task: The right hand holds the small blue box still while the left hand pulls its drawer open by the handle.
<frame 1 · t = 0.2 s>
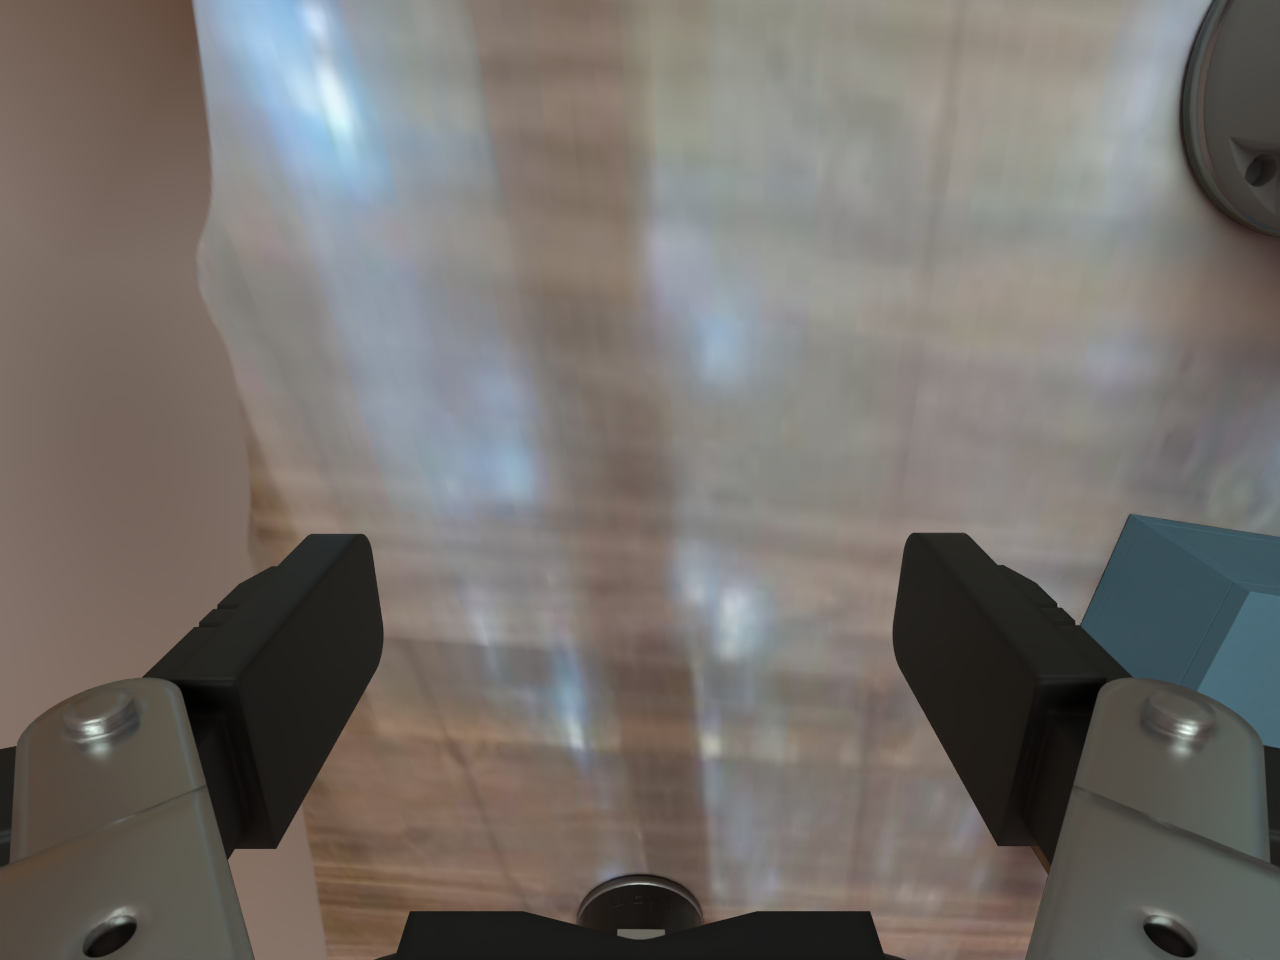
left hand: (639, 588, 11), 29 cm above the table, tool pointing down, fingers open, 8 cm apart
drawer: (1159, 790, 44), point 4 cm above the table, slide at 0.7 cm
blue box: (1147, 672, 46), on the table
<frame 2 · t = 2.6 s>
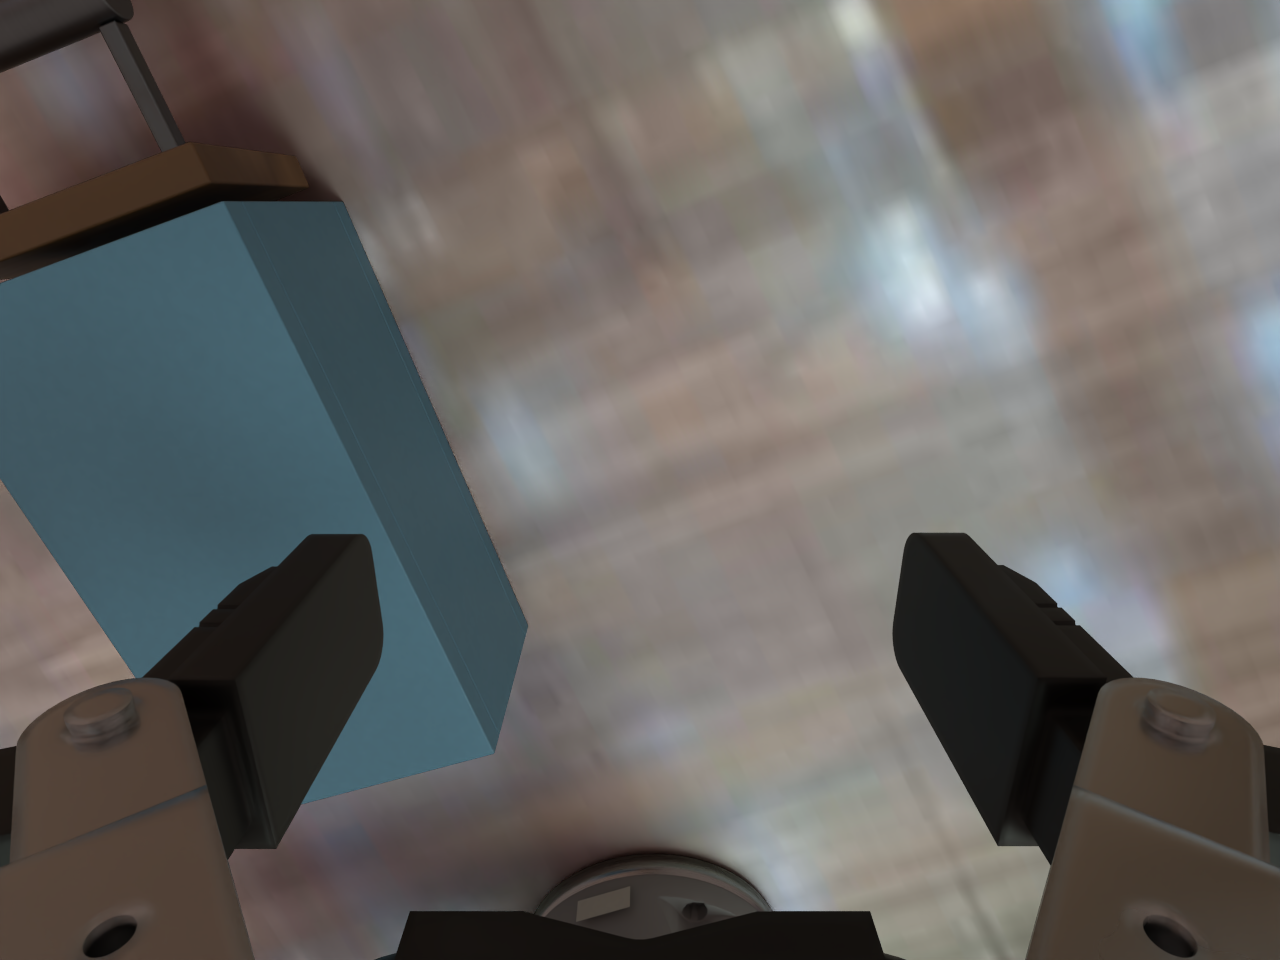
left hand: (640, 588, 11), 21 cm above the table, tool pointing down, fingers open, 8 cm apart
drawer: (220, 385, 27), point 4 cm above the table, slide at 0.7 cm
blue box: (332, 472, 33), on the table
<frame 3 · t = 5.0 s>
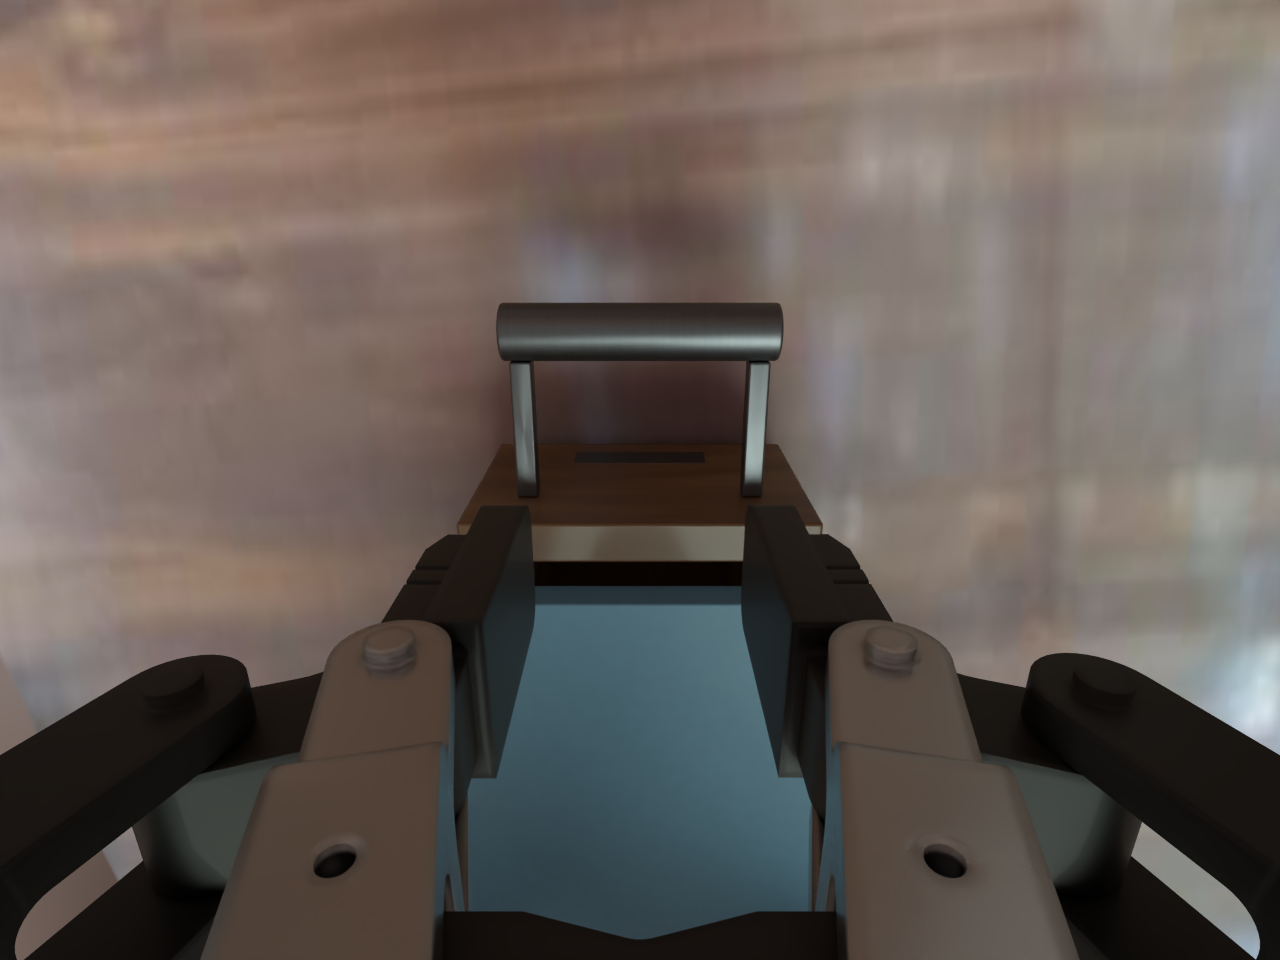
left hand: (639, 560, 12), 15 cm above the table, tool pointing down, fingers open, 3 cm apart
drawer: (639, 661, 25), point 4 cm above the table, slide at 0.7 cm
blue box: (639, 704, 32), on the table, touching right hand
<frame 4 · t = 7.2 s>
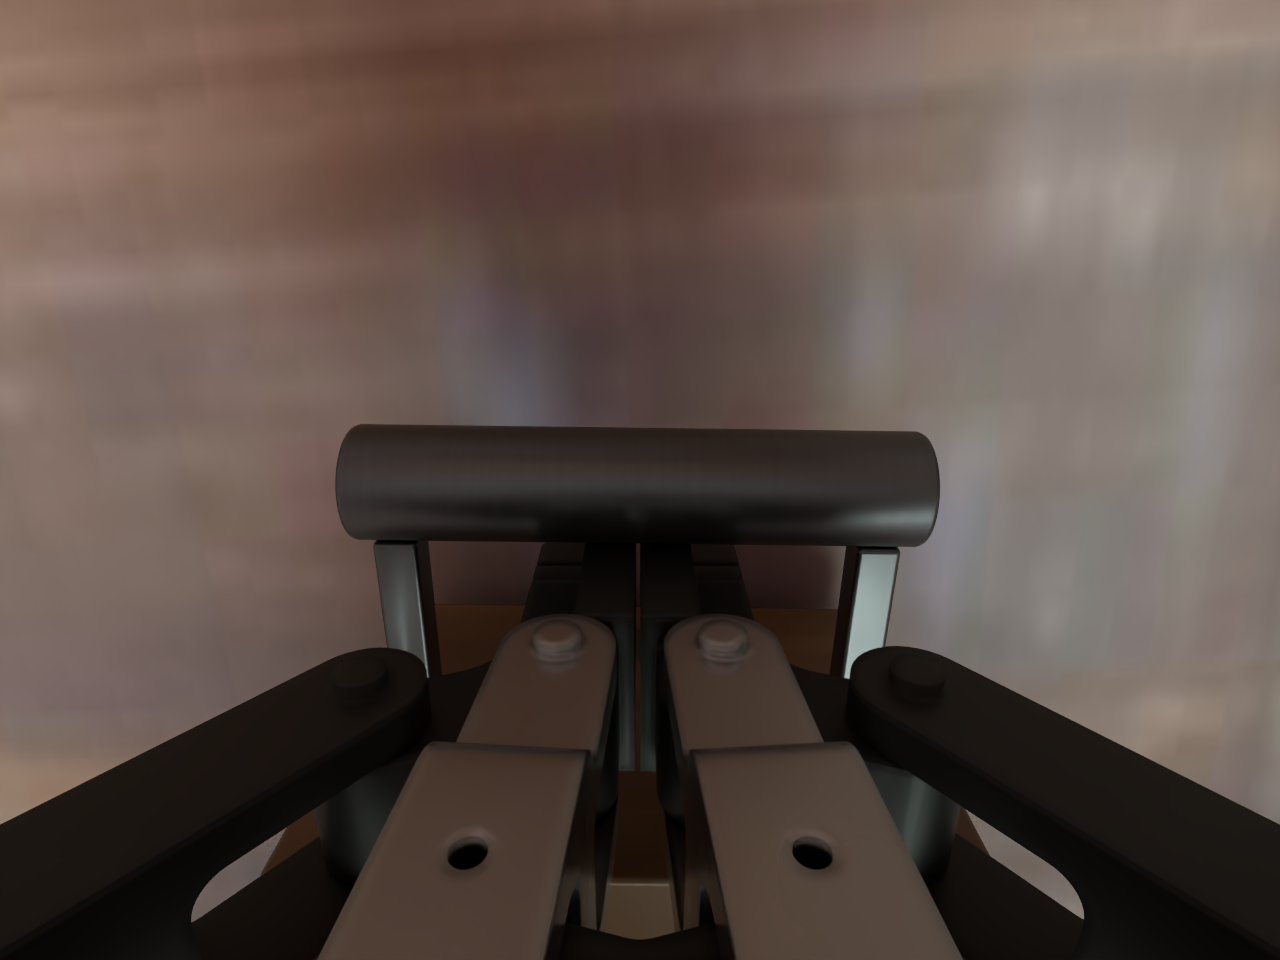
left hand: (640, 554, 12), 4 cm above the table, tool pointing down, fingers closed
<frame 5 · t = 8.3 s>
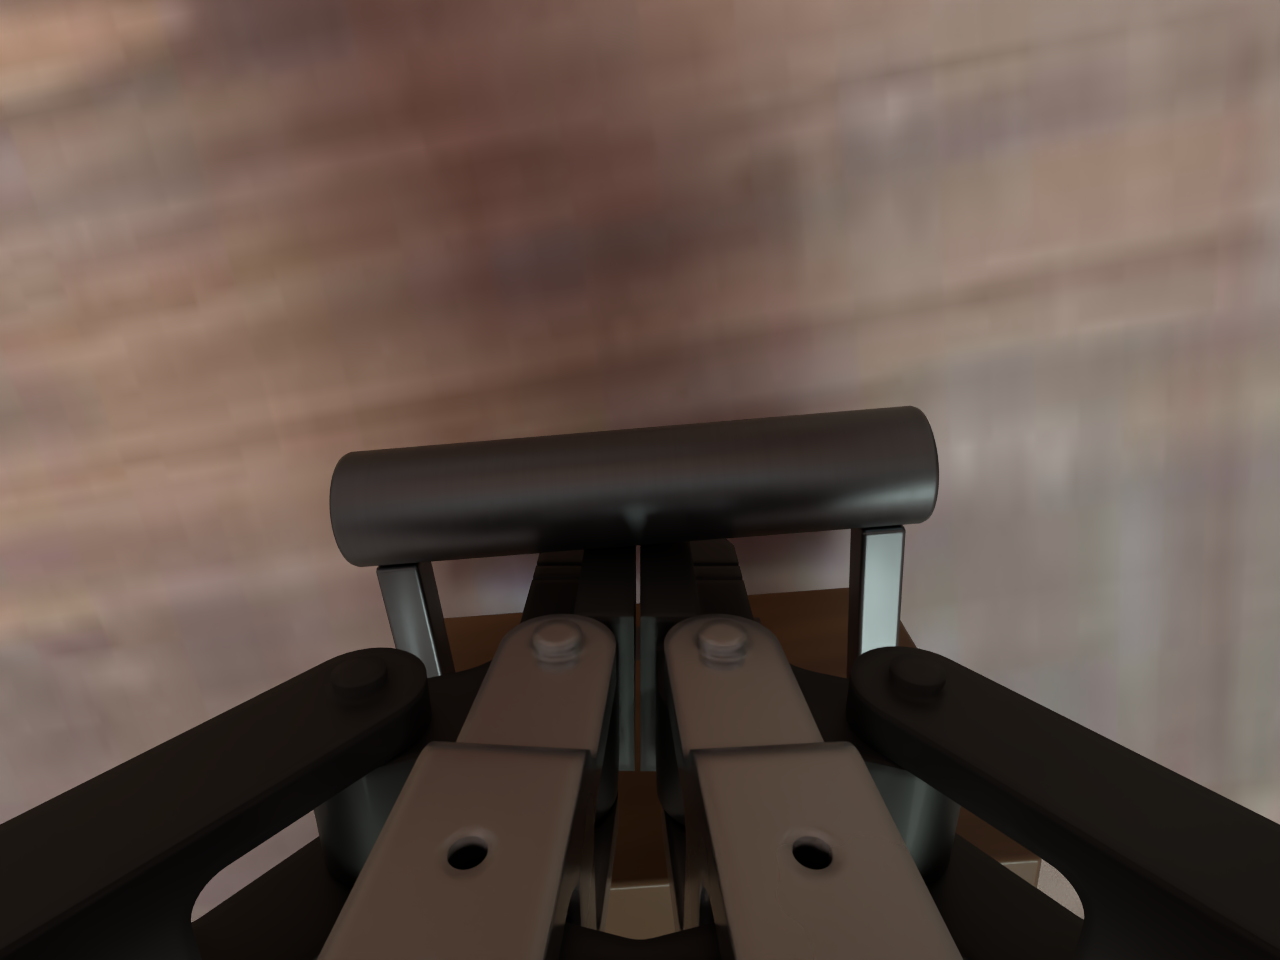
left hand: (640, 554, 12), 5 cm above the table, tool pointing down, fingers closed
when the right hand's fingers open (4 cm above the table, at t = 9.8 s): blue box stays where it is, on the table.
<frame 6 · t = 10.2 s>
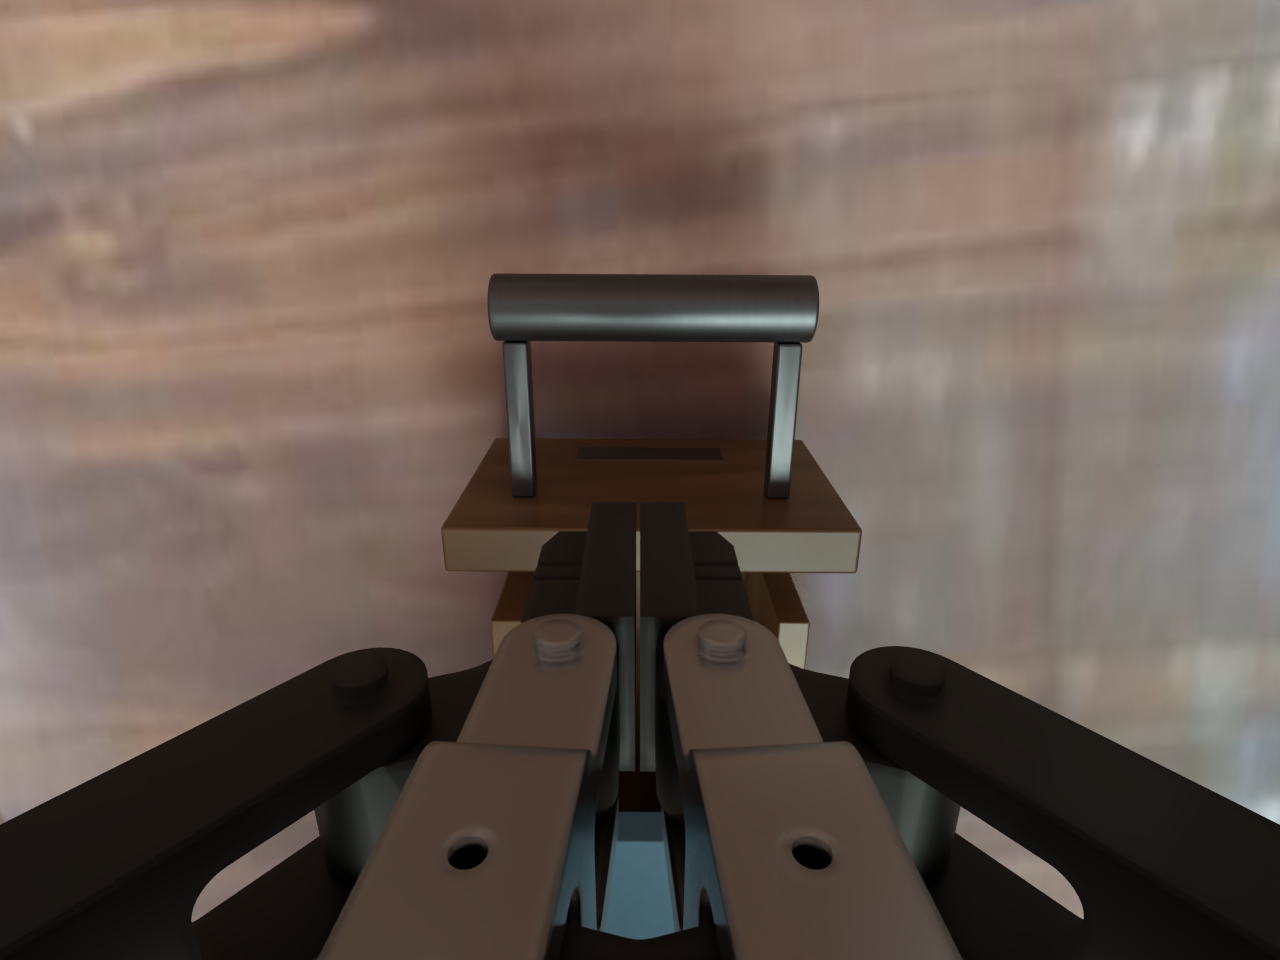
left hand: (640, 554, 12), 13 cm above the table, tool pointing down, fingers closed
drawer: (647, 681, 23), point 4 cm above the table, slide at 7.5 cm
blue box: (643, 850, 31), on the table
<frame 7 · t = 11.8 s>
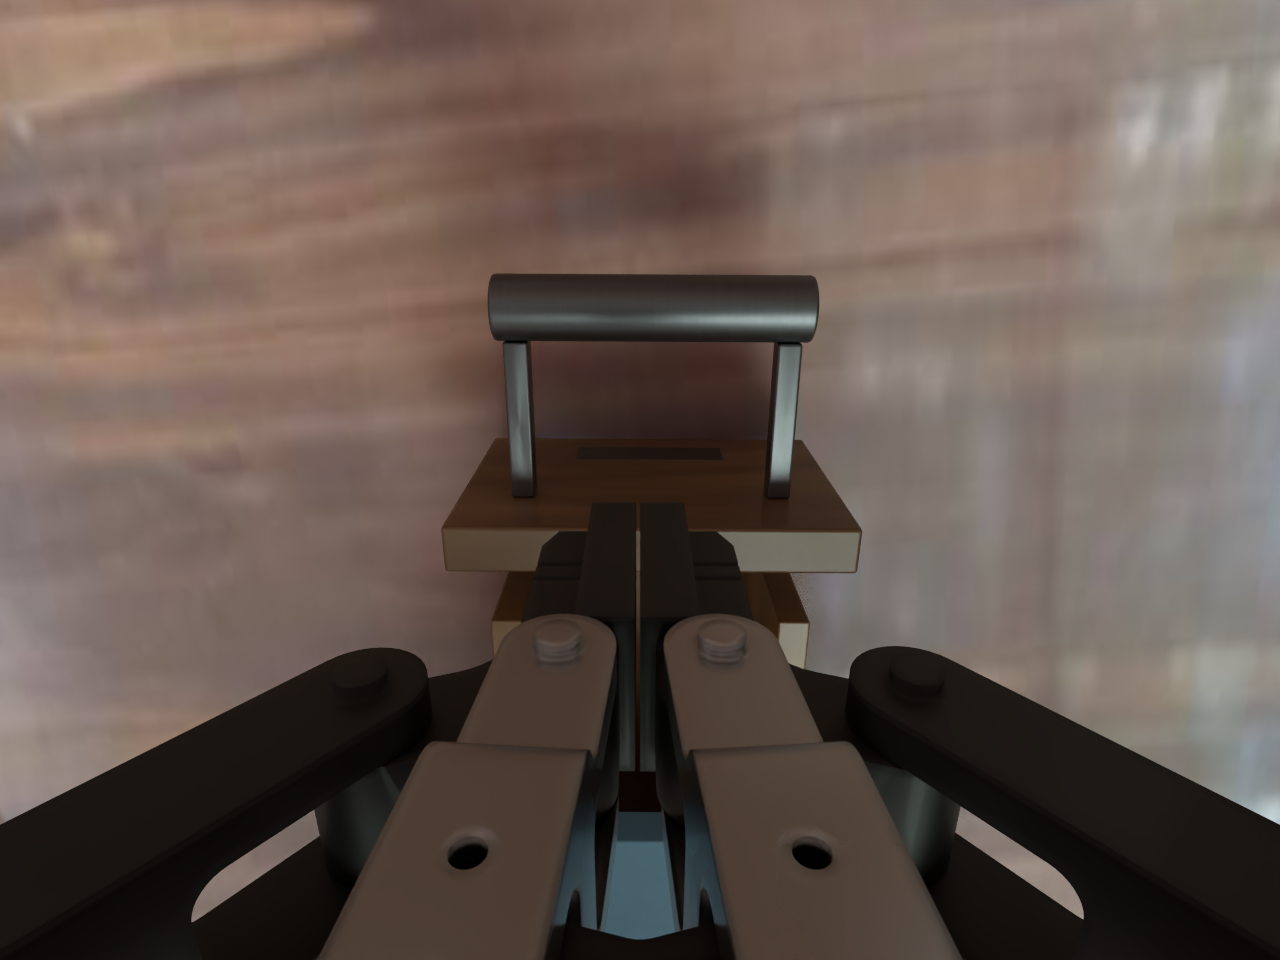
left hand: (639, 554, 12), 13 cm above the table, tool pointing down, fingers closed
drawer: (647, 681, 23), point 4 cm above the table, slide at 7.5 cm
blue box: (643, 850, 31), on the table
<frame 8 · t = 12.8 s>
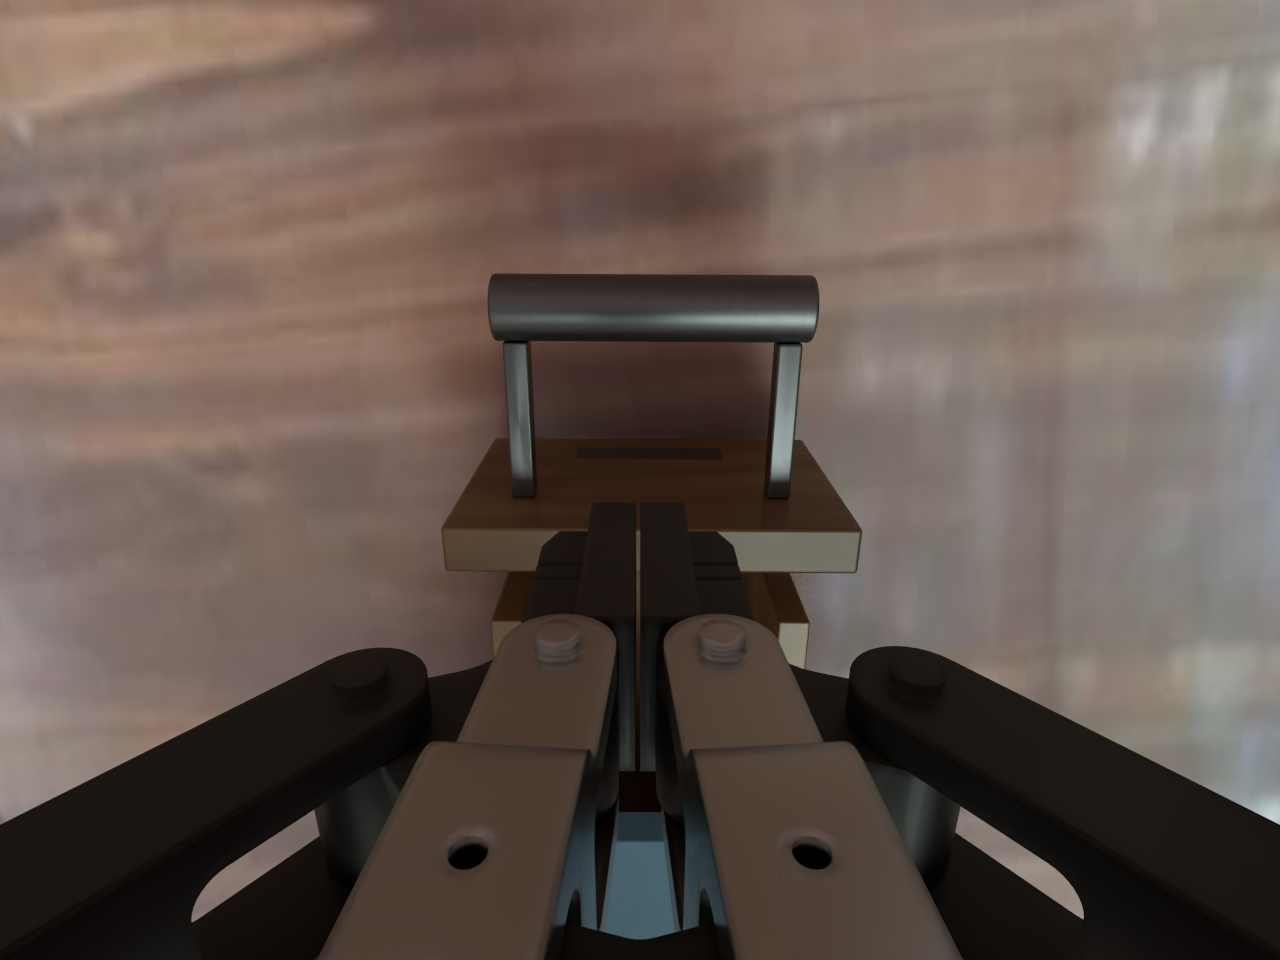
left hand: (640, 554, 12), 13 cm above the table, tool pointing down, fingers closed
drawer: (647, 681, 23), point 4 cm above the table, slide at 7.5 cm
blue box: (643, 850, 31), on the table
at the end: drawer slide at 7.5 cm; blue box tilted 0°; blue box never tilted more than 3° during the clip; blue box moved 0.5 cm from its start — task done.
